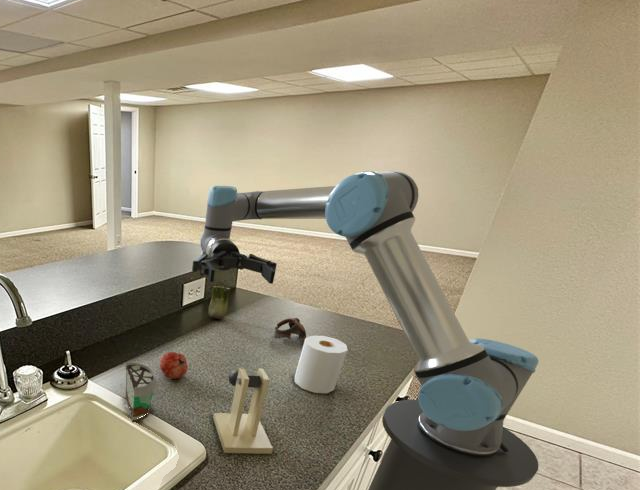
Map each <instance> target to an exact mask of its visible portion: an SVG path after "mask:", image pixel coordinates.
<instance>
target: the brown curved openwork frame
mask: <svg viewBox="0 0 640 490" xmlns="http://www.w3.org/2000/svg"><path fill="white" fill-rule="evenodd" d="M287 324H288V327H289V328H288V329H279V328H281V327H282V326H284V325H287ZM274 330H275V331H274V337H275V338H278V339H285V338H287V339H289V340H291V338H292V337H291V336H292V334H293V335H297V336H298V339H301V340H302V346H303V345H304V341H305V338H307V331H306V329H305V326H304V325H303V324H302V323H301V321H300V319H299V318H298V317H294V318H293V317H292V318H290V317H289V318H285V319H283V320H281V321H279V322H278V323H277V324H276V326H275V327H274Z"/></svg>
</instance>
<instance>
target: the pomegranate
mask: <svg viewBox="0 0 640 490" xmlns="http://www.w3.org/2000/svg"><path fill="white" fill-rule="evenodd" d="M159 367H160V370H161V372H162V373H163V376H164V377H166V378H167V379H171V380H175V379H178V378H183V377H184V376H185V375H186V374H187V373H188V368H189V366H188V363H187V358H186V357H185V355H184V354H183V353H178V352H176V351H169V352H166V353H164V355H162V357H161V359H160V364H159Z"/></svg>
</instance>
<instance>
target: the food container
mask: <svg viewBox="0 0 640 490" xmlns="http://www.w3.org/2000/svg"><path fill="white" fill-rule="evenodd" d="M157 385H158V381H157V376H156V374H155V372H154V370H153V369H152V368H151V367H149V366H147V365H145V364H142V363H140V362H139V363H138V362H133V361H131V362H130V361H127V362H126V363H125V402H126V405H127V409H128V413H129V415H130V420H131V423H137V422H141V421H143V420H145V419H146V418H147V417H148V416H149V415H150V412H151V405H152V399H153V395H154V391H155V389H156V388H157ZM129 407H130V408H129ZM130 411H131V412H130ZM147 413H148V414H147ZM145 414H146V415H145ZM144 415H145V416H144ZM141 416H143V417H141ZM139 417H141V418H139ZM137 418H138V419H137Z"/></svg>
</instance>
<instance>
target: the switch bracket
mask: <svg viewBox="0 0 640 490" xmlns="http://www.w3.org/2000/svg"><path fill="white" fill-rule="evenodd" d="M238 371H239V372H238V377H237V382H236V386H234V393H233V397H232V403H231V408H230V413H229V412H228V413H227V412H213V416H212V419H213V422H214V426H215V428H216V431H217V435H218V438H219V441H220V444H221V448H222V451H223V454H258V455H259V454H260V455H262V454H265V455H267V454H268V455H272V454H273V450H274V447H273V445H272V443H271V441H270V439H269V437H268V435H267V432H266V430H265V428H264V426H263V424H262V421H261V418H262V413H263V408H264V404H265V400H266V397H267V393H268V388H269V384H270V378H269V376H268V374H267V373H266V371H265V370H264V368H258V369H257V373H256V375H258V376H260V388H253V390H252V396H251V400H250V403H249V404H250V405H249V409H248V412H247V413H243V411H244V407H245V402H246V397H247V392H248V389H249V387H248V384H249V377H248V375H249V374H248V373H247V372H246V370H245V368H244V367H239V368H238Z"/></svg>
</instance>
